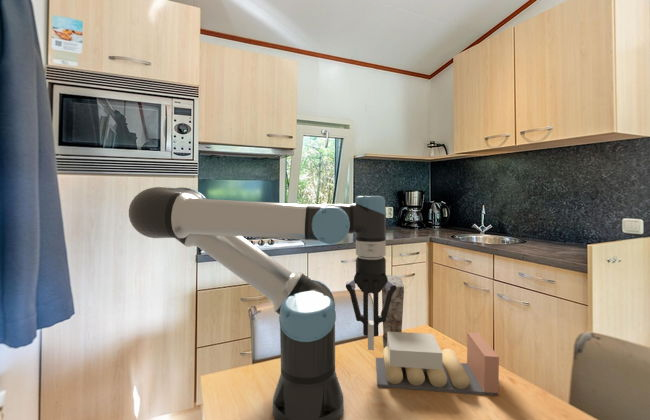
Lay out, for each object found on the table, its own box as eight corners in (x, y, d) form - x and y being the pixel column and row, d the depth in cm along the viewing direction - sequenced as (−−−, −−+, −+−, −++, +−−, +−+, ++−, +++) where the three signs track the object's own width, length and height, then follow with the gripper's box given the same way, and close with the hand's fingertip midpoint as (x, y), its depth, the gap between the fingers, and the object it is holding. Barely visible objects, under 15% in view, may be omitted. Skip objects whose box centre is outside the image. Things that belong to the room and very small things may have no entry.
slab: (390, 366, 73) (390, 350, 73) (387, 345, 83) (387, 331, 83) (442, 369, 72) (442, 353, 71) (432, 348, 82) (433, 333, 81)
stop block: (484, 394, 70) (484, 356, 69) (466, 365, 82) (467, 332, 81) (498, 395, 69) (499, 356, 69) (478, 366, 81) (479, 333, 81)
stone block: (406, 355, 87) (407, 285, 86) (382, 354, 88) (382, 285, 87) (399, 334, 100) (399, 273, 99) (377, 333, 101) (377, 273, 100)
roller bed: (377, 386, 73) (377, 367, 73) (375, 359, 85) (375, 343, 85) (498, 395, 69) (498, 375, 69) (478, 366, 81) (479, 349, 81)
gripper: (343, 259, 75) (344, 353, 76) (398, 260, 73) (398, 356, 74) (345, 253, 82) (346, 339, 83) (395, 254, 80) (395, 341, 82)
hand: (370, 347), depth 79 cm, fingers closed
